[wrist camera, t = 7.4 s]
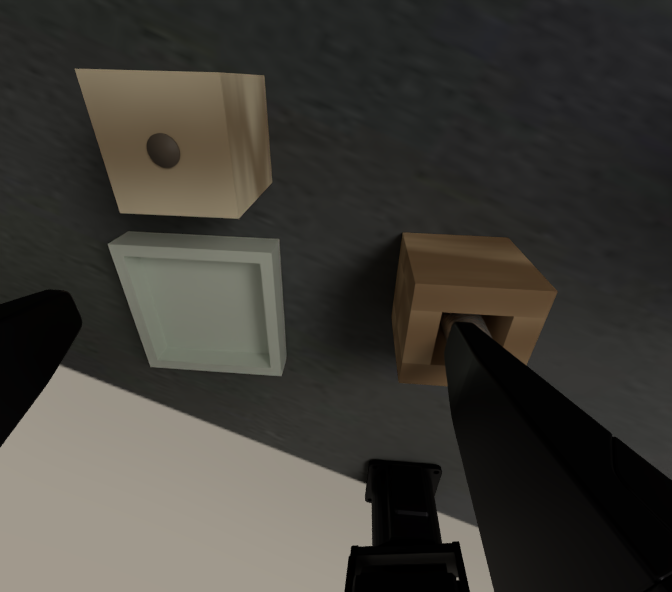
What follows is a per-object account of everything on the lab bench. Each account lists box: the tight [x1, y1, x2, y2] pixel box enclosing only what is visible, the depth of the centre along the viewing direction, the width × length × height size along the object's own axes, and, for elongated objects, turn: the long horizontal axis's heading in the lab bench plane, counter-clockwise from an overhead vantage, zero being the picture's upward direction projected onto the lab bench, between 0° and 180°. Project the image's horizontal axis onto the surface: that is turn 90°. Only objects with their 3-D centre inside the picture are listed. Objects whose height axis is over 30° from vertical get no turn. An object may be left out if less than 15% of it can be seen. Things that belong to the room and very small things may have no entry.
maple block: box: [75, 69, 272, 219], centre depth 15 cm, size 5×5×6 cm
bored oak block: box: [391, 233, 558, 386], centre depth 19 cm, size 6×6×6 cm
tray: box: [108, 231, 287, 376], centre depth 23 cm, size 9×9×2 cm
